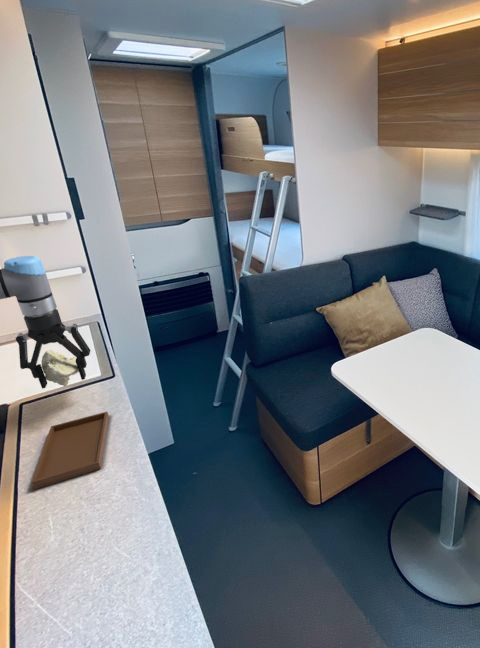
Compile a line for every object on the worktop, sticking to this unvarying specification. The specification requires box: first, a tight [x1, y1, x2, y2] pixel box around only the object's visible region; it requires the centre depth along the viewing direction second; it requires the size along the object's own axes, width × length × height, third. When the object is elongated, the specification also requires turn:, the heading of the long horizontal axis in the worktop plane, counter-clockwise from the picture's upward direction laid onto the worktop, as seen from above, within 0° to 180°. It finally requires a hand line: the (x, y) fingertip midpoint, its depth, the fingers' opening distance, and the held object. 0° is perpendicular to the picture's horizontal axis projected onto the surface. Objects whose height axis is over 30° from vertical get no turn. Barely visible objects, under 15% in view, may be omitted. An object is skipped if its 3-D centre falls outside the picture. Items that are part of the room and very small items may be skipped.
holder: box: [30, 411, 110, 490], centre depth 105 cm, size 13×21×2 cm, turn 26°
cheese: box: [41, 350, 79, 387], centre depth 120 cm, size 15×7×15 cm
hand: (64, 381), depth 120 cm, fingers closed on cheese, 9 cm apart
